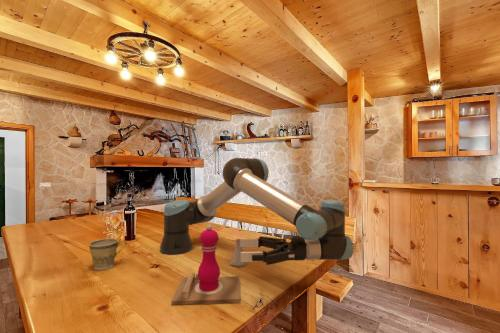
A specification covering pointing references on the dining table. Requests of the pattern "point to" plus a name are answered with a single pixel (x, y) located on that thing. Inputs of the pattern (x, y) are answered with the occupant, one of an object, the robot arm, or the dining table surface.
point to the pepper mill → (208, 261)
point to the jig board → (193, 295)
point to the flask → (238, 255)
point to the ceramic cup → (104, 253)
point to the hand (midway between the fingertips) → (240, 249)
